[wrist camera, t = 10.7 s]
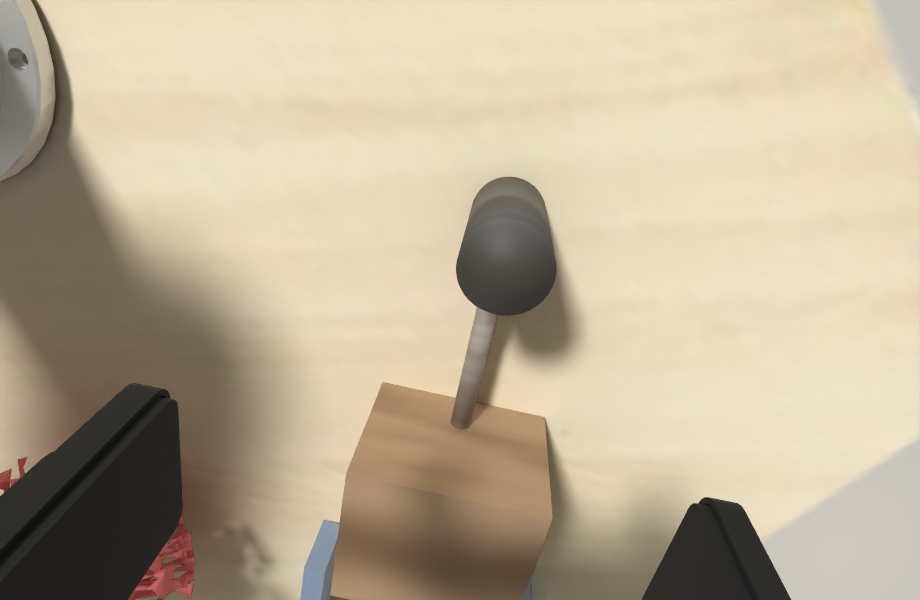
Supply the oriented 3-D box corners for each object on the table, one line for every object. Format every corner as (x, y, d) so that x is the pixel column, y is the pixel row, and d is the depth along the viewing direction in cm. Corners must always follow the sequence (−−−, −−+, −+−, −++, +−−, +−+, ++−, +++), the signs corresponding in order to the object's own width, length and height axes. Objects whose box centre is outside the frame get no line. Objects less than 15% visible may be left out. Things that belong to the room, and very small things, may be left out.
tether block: (510, 521, 33) (509, 634, 26) (365, 489, 33) (329, 595, 27) (616, 199, 24) (651, 253, 18) (418, 156, 24) (383, 194, 18)
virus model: (114, 356, 30) (-206, 602, 17) (286, 528, 35) (141, 830, 21) (-32, 457, 35) (-378, 714, 21) (137, 598, 39) (-61, 884, 26)
